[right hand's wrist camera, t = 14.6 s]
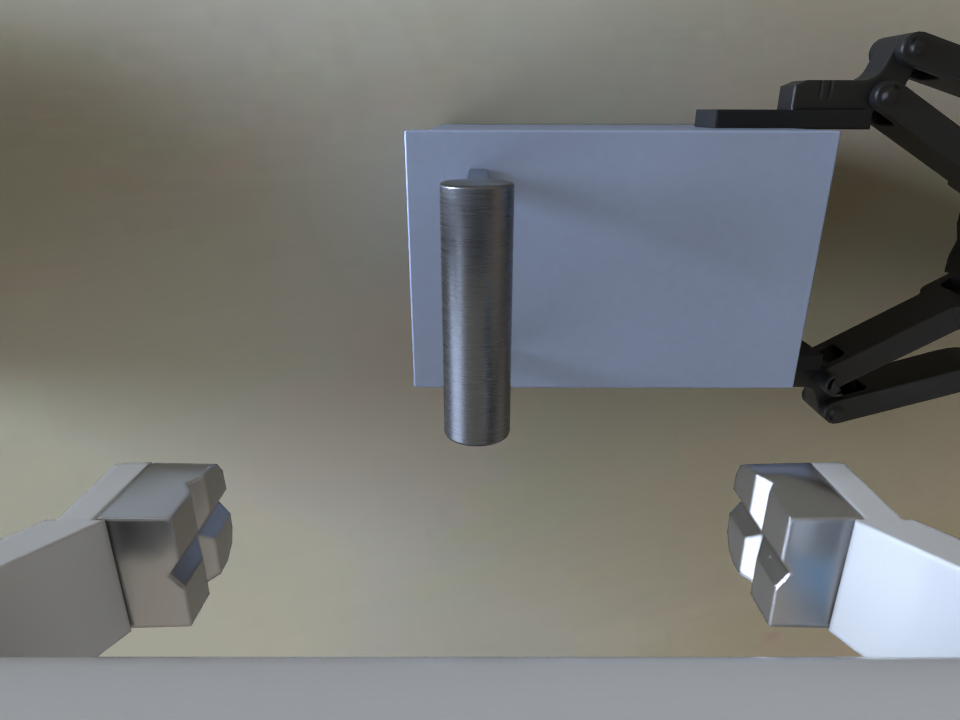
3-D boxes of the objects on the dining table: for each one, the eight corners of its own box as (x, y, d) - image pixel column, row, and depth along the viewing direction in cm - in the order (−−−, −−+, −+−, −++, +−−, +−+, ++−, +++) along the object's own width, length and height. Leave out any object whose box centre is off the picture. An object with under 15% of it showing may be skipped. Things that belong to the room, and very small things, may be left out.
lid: (415, 379, 28) (391, 480, 20) (406, 130, 24) (372, 138, 17) (784, 380, 28) (898, 481, 20) (830, 130, 24) (989, 139, 17)
